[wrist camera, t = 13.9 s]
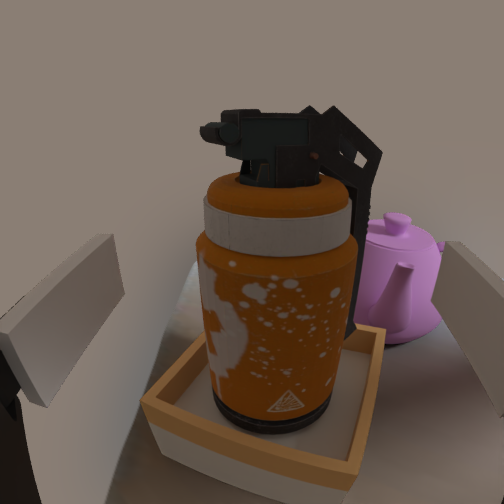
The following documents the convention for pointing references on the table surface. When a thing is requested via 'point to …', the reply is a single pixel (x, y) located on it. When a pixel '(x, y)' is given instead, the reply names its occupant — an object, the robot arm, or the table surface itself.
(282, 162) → the canister
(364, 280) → the teapot
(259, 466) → the orange-rimmed open box
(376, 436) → the table surface
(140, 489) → the table surface
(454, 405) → the table surface
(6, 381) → the robot arm
